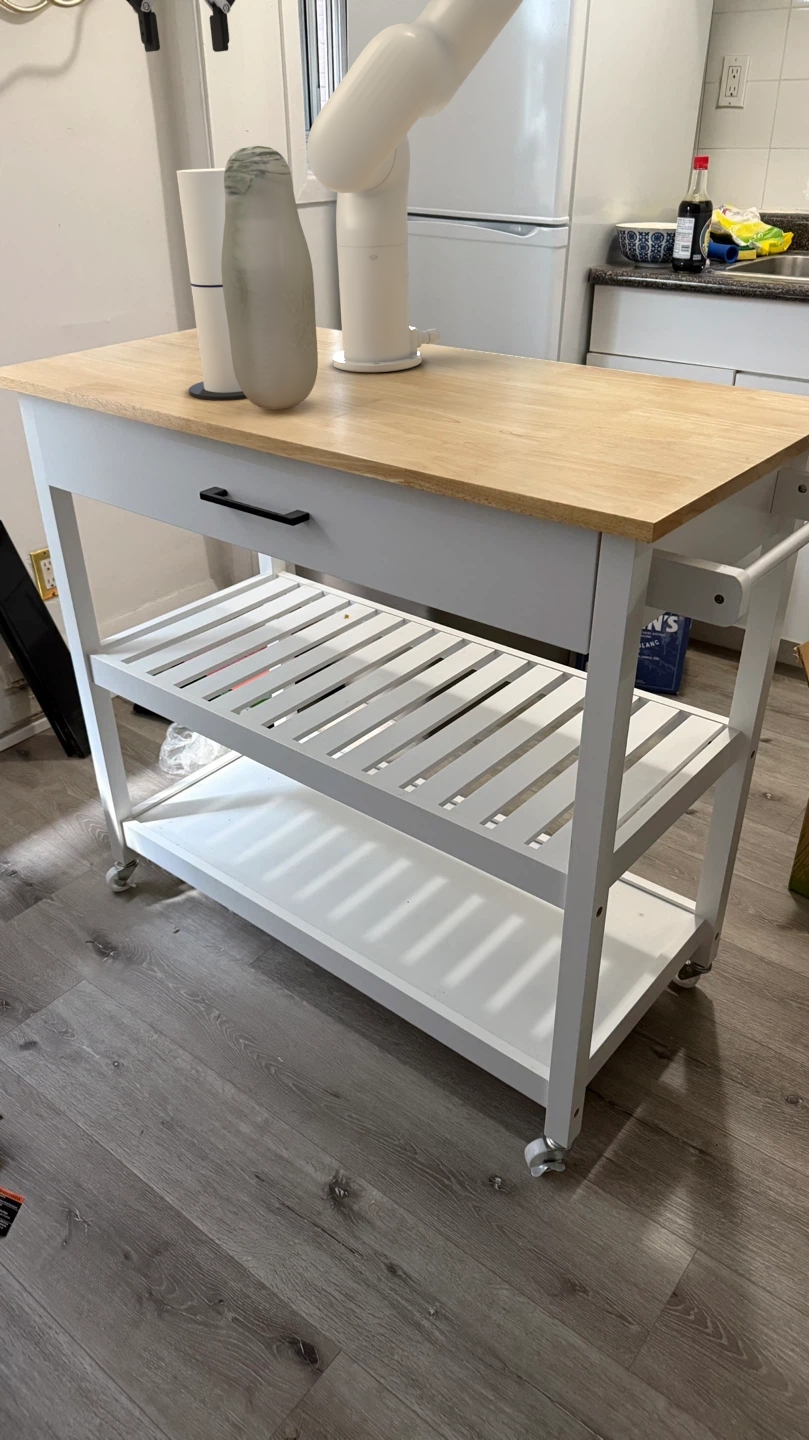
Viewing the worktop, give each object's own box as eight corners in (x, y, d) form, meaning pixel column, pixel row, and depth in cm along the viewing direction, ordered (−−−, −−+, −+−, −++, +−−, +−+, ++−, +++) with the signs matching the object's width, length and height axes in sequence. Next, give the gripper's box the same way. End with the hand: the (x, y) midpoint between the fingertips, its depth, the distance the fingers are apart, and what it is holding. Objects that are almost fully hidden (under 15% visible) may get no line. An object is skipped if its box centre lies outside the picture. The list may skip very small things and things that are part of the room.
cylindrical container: (214, 395, 130) (186, 172, 118) (197, 384, 136) (169, 170, 123) (267, 387, 133) (245, 169, 120) (248, 377, 139) (225, 167, 126)
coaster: (252, 376, 141) (252, 373, 141) (287, 391, 133) (287, 387, 133) (176, 388, 136) (176, 384, 136) (208, 404, 128) (207, 400, 128)
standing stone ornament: (256, 396, 131) (231, 145, 117) (332, 399, 129) (315, 143, 114) (224, 416, 123) (192, 148, 109) (304, 419, 120) (282, 146, 106)
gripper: (112, -130, 117) (136, 49, 126) (245, -118, 126) (260, 49, 134) (87, -119, 122) (112, 53, 131) (217, -107, 131) (233, 53, 140)
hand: (187, 51), depth 133 cm, fingers open, 9 cm apart
